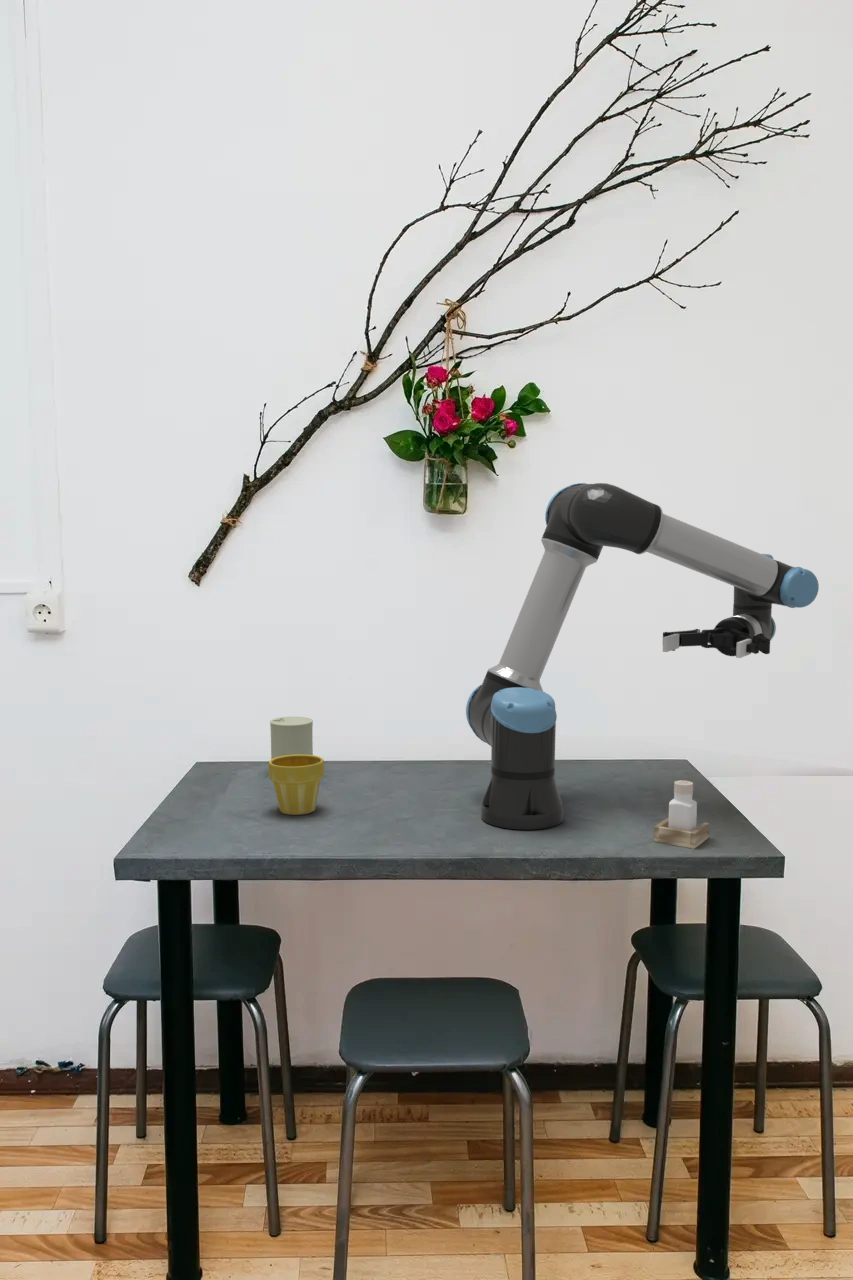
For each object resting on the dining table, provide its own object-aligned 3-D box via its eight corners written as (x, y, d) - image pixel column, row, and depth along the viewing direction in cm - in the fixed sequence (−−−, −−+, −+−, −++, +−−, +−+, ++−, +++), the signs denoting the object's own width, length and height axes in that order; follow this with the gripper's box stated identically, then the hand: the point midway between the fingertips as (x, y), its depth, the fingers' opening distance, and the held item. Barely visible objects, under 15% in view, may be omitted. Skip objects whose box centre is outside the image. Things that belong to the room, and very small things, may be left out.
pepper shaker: (696, 835, 185) (698, 781, 184) (689, 841, 182) (691, 786, 180) (674, 831, 187) (676, 778, 186) (666, 837, 184) (668, 783, 182)
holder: (653, 841, 183) (654, 826, 183) (668, 830, 189) (669, 816, 189) (694, 848, 179) (695, 833, 179) (708, 837, 185) (709, 823, 185)
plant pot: (263, 806, 204) (262, 756, 203) (315, 800, 208) (315, 751, 207) (277, 820, 195) (276, 768, 194) (331, 814, 199) (330, 763, 198)
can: (277, 767, 235) (276, 713, 233) (318, 768, 233) (317, 715, 232) (265, 777, 225) (264, 722, 224) (307, 779, 224) (307, 723, 223)
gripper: (801, 659, 203) (770, 674, 186) (675, 649, 217) (635, 662, 199) (802, 620, 202) (771, 631, 185) (676, 612, 216) (636, 622, 198)
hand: (700, 647), depth 192 cm, fingers open, 13 cm apart
